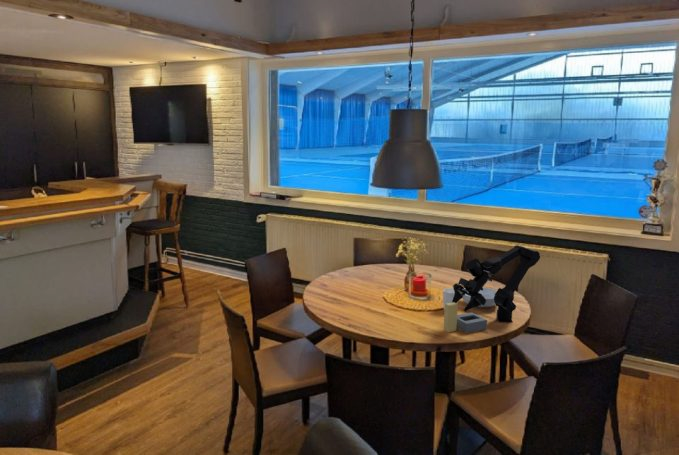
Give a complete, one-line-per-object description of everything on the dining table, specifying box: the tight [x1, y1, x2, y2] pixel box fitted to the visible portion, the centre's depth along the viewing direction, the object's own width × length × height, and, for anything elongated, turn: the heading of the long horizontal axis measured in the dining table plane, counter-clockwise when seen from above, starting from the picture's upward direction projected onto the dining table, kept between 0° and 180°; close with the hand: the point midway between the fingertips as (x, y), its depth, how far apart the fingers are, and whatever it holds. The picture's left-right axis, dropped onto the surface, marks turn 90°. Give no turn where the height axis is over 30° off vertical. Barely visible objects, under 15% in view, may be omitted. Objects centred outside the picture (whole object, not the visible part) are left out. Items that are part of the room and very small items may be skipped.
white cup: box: [442, 287, 458, 311], centre depth 269 cm, size 8×8×10 cm
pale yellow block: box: [443, 302, 459, 333], centre depth 240 cm, size 5×3×13 cm, turn 115°
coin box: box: [456, 311, 488, 334], centre depth 246 cm, size 12×11×4 cm
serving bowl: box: [462, 286, 497, 308], centre depth 277 cm, size 21×21×7 cm
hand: (458, 307), depth 241 cm, fingers open, 9 cm apart
